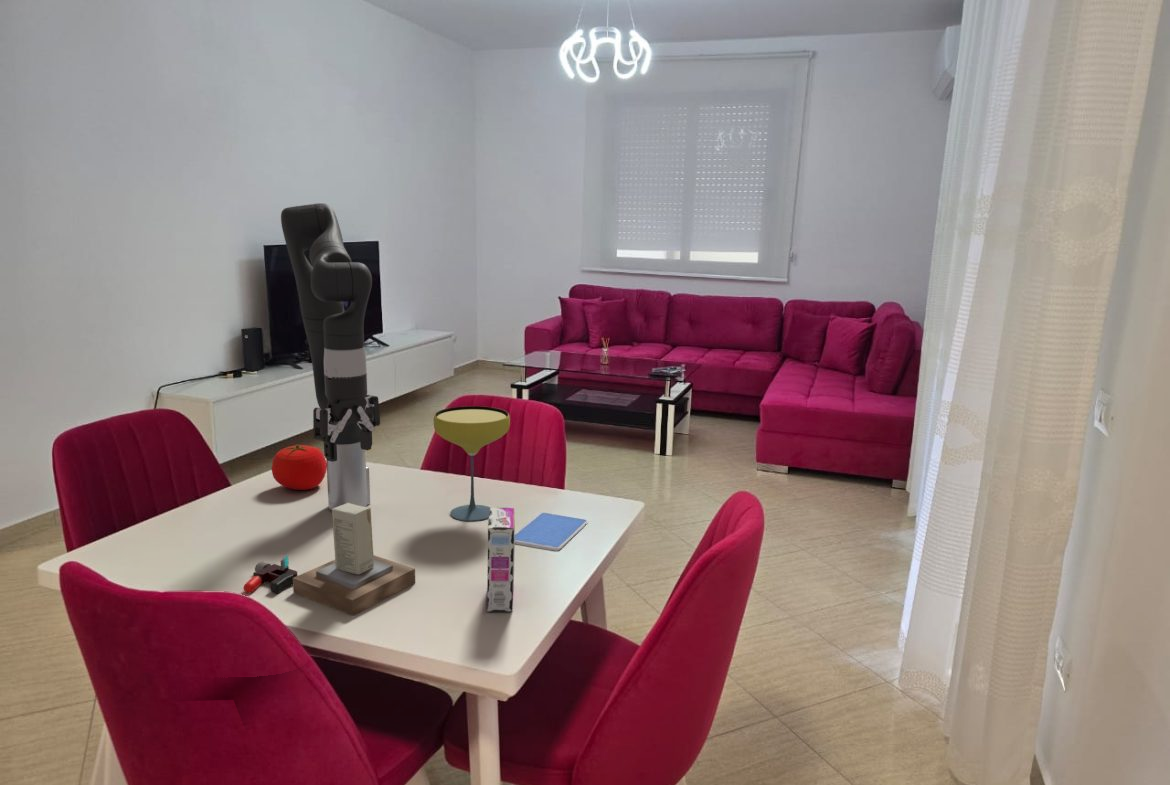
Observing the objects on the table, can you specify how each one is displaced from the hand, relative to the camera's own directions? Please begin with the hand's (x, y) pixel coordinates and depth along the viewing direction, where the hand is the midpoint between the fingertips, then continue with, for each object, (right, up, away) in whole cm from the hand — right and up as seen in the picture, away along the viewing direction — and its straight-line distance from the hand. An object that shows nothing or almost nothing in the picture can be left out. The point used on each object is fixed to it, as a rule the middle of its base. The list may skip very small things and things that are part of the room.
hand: (349, 455), depth 148 cm
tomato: (-30, -14, +58) cm, 67 cm away
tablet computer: (+37, -21, +33) cm, 54 cm away
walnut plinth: (0, -26, +3) cm, 26 cm away
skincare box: (0, -22, +2) cm, 22 cm away
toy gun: (-18, -26, +4) cm, 31 cm away
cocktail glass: (+17, -18, +43) cm, 50 cm away
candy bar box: (+29, -27, 0) cm, 40 cm away
